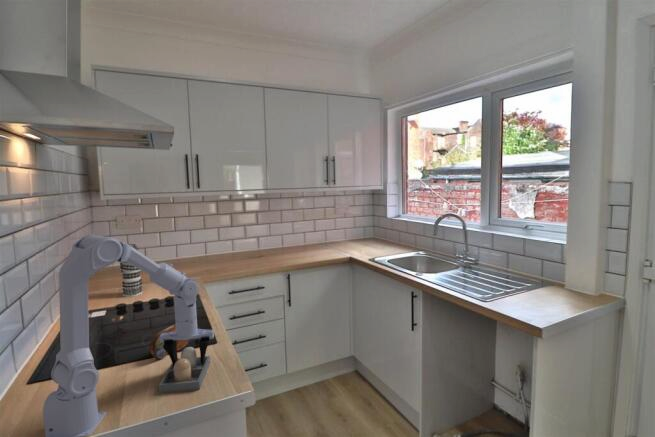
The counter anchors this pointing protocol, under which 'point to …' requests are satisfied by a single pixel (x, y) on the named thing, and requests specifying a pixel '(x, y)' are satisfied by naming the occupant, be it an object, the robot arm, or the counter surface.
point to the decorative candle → (131, 278)
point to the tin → (158, 348)
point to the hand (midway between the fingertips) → (189, 363)
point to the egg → (190, 356)
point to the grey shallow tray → (195, 384)
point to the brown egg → (182, 370)
